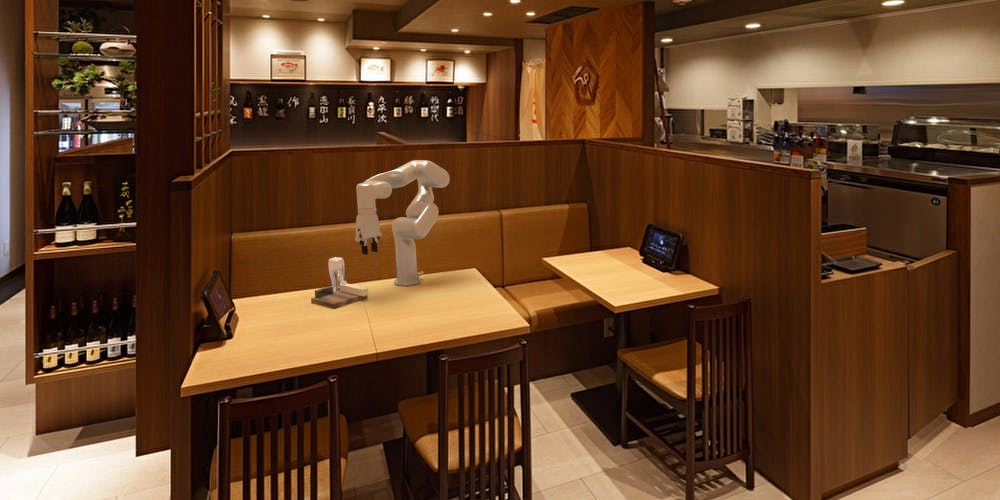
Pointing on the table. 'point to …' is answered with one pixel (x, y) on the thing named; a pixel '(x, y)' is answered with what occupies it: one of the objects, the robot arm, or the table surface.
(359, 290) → the hinged leg
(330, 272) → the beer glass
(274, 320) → the table surface
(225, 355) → the table surface
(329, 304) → the brown rectangular tray
